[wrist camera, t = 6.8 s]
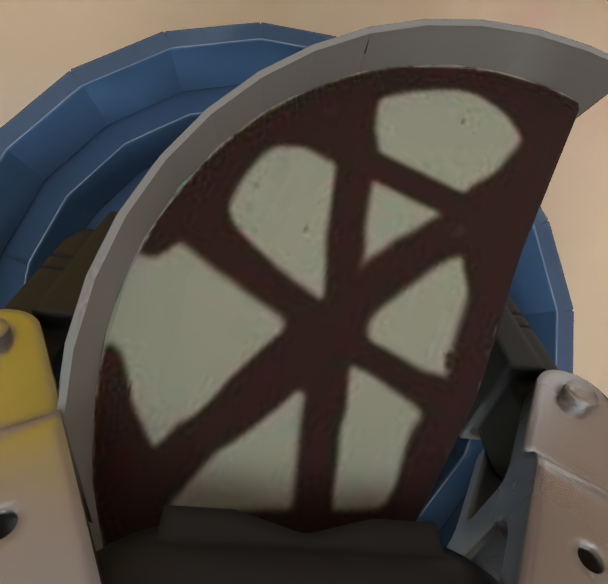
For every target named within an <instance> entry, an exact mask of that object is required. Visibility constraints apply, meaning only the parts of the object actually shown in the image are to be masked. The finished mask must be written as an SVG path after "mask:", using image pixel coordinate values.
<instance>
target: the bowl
mask: <svg viewBox="0 0 608 584" xmlns="http://www.w3.org/2000/svg"><path fill="white" fill-rule="evenodd" d="M332 38H336V36H331V35H325V34H320V33H315V32H310V31H304V30H299V29H294V28H289V27H283V26H278V25H273V24H268V23H261V24H260V23H258V22H257V23H247V24H236V25H226V26H216V27H206V28H196V29H185V30H175V31H166V32H165V33H164V32H160V33H158V34H156V35H153V36H151V37H148V38H146V39H143V40H141V41H139V42H136V43H134V44H131V45H129V46H126V47H124V48H122V49H119V50H117V51H114V52H112V53H109V54H107V55H105V56H102V57H100V58H97V59H95V60H92V61H90V62H88V63H85V64H83V65H80V66H78V67H75V68H73V69H71V72H70V71H69V72H67V73H66V74H65V75H64V76H63V77H61V78H60V79H59V80H58V81H57V82H55V83H54V84H53V85H52V86H51V87H49V88H48V89H47V90H46V91H45V92H43V93H42V94H41V95H40V96H38V97H37V98H36V99H35V100H34V101H32V102H31V103H30V104H29V105H28V106H26V107H25V108H24V109H23V110H22V111H20V112H19V113H18V114H17V115H16V116H14V117H13V118H12V119H11V120H10V121H8V122H7V123H6V124H5V125H4V126H2V127H1V128H0V309H3V308H4V307H5V306H6V305H7V304H8V303H9V302H10V300H11V299H12V298H13V297H14V296H15V295H16V294H17V293H18V291H19V290H20V289H21V288H22V287H23V286H24V285H25V284H26V282H27V281H28V280H29V279H30V278H31V277H32V276H33V274H34V273H35V272H36V271H37V270H38V269H39V268H42V264H43V263H44V262H45V261H46V260H47V259H48V257H49V256H52V253H53V252H54V251H55V250H56V248H57V247H58V246H59V245H60V244H61V243H62V242H63V241H64V239H66V238H68V237H70V236H72V235H74V234H76V233H78V232H80V231H82V230H83V229H89V230H95V229H96V228H97V227H98V225H99V224H100V223H101V222H102V220H103V219H104V218H105V217H106V215H107V214H108V213H109V212H110V211H116V212H119V211H120V209H121V208H122V207H123V205H124V204H125V203H126V201H127V200H128V198H129V197H130V196H131V194H132V193H133V192H134V190H135V189H136V187H137V186H138V185H139V183H140V182H141V181H142V179H143V178H144V176H145V175H146V174H147V172H148V171H149V169H150V168H151V167H152V165H153V164H154V163H155V162H156V161H157V159H158V158H159V156H160V155H161V154H162V153H163V152H164V151H165V150H166V149H167V148H168V147H169V146H170V145H171V144H172V143H173V142H174V141H175V140H176V139H177V138H178V137H179V136H180V135H181V134H182V133H183V132H184V131H185V130H186V129H187V128H188V127H189V126H190V125H191V124H192V123H193V122H194V121H195V120H196V119H197V118H198V117H199V116H200V115H201V114H202V113H203V112H204V111H205V110H206V109H207V108H208V107H210V106H211V105H213V104H214V103H215V102H217V101H218V100H220V99H221V98H222V97H224V96H225V95H227V94H228V93H229V92H231V91H232V90H234V89H235V88H236V87H238V86H239V85H240V84H242V83H243V82H245V81H246V80H247V79H249V78H250V77H252V76H253V75H254V74H256V73H257V72H259V71H261V70H263V69H265V68H267V67H269V66H271V65H273V64H275V63H277V62H279V61H281V60H283V59H285V58H287V57H289V56H291V55H293V54H295V53H297V52H299V51H301V50H303V49H305V48H307V47H309V46H311V45H313V44H316V43H319V42H323V41H326V40H329V39H332ZM547 220H548V219H547V217H546V215H545V214H544V212H543V210H542V209H541V207H540V208H539V210H538V213H537V215H536V218H535V220H534V223H533V225H532V228H531V230H530V233H529V235H528V238H527V240H526V243H525V245H524V248H523V251H522V254H521V257H520V260H519V263H518V266H517V269H516V272H515V275H514V278H513V282H512V285H511V288H510V291H509V294H508V296H510V297H511V298H512V299H513V301H514V302H515V304H516V305H517V307H518V308H519V310H520V311H521V313H522V314H521V316H524V318H525V319H526V321H527V322H528V324H529V325H530V327H529V328H530V329H532V330H533V331H534V333H535V334H536V336H537V337H538V339H539V340H540V342H541V343H542V345H543V346H544V348H545V349H546V351H547V352H548V354H549V355H550V357H551V359H552V360H553V362H554V363H555V365H556V366H557V368H558V369H559V370H561V371H565V372H569V373H572V374H573V322H574V312H573V311H572V310H573V306H572V302H571V299H570V295H569V291H568V288H567V284H566V281H565V277H564V273H563V270H562V266H561V263H560V259H559V255H558V252H557V248H556V245H555V241H554V237H553V234H552V230H551V227H550V223H549V221H547ZM483 449H484V446H483V443H482V441H481V440H475V439H464V438H460V437H459V436H458V438H457V440H456V442H455V444H454V446H453V449H452V451H451V453H450V455H449V457H448V459H447V461H446V463H445V465H444V467H443V469H442V471H441V473H440V475H439V477H438V479H437V481H436V483H435V485H434V487H433V489H432V491H431V493H430V495H429V497H428V499H427V501H426V503H425V505H424V507H423V509H422V511H421V513H420V515H419V517H418V519H417V522H432V523H436V524H437V528H438V532H439V536H440V540H441V544H442V546H445V547H447V545H448V544H449V542H450V540H451V538H452V536H453V534H454V532H455V529H456V527H457V524H458V521H459V517H460V514H461V511H462V507H463V504H464V501H465V497H466V494H467V490H468V487H469V484H470V480H471V477H472V474H473V470H474V467H475V463H476V460H477V458H478V455H479V454H480V453H481V451H482V450H483Z"/></svg>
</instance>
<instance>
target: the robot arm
mask: <svg viewBox="0 0 608 584" xmlns="http://www.w3.org/2000/svg"><path fill="white" fill-rule="evenodd" d="M117 214H118V212H116V211H110V212H109V213H108V214H107V215H106V217H105V218H104V219H103V220H102V222H101V223H100V224H99V225H98V227H97V228H96V229H95V230H89V229H83V230H82V231H80V232H78V233H76V234H74V235H72V236H70V237H68V238H66V239H64V241H63V242H62V243H61V244H60V245H59V246H58V247H57V248H56V250H55V251H54V252H53V253H52V256H49V257H48V259H47V260H46V261H45V262H44V263H43V264H42V268H39V269H38V270H37V271H36V272H35V273H34V274H33V276H32V277H31V278H30V279H29V280H28V281H27V282H26V284H25V285H24V286H23V287H22V288H21V289H20V290H19V291H18V293H17V294H16V295H15V296H14V297H13V298H12V299H11V300H10V302H9V303H8V304H7V305H6V306H5V307H4V308H3V309H0V584H608V398H607V397H606V396H605V395H604V394H603V393H602V392H601V391H600V390H599V389H597V388H596V387H595V386H593V385H592V384H591V383H589V382H588V381H586V380H584V379H582V378H581V377H579V376H576V375H574V374H572V373H569V372H565V371H561V370H559V369H558V368H557V366H556V365H555V363H554V362H553V360H552V359H551V357H550V355H549V354H548V352H547V351H546V349H545V348H544V346H543V345H542V343H541V342H540V340H539V339H538V337H537V336H536V334H535V333H534V331H533V330H532V329H530V328H529V327H530V325H529V324H528V322H527V321H526V319H525V318H524V316H521V314H522V313H521V311H520V310H519V308H518V307H517V305H516V304H515V302H514V301H513V299H512V298H511V297H510V296H508V297H507V301H506V304H505V307H504V311H503V314H502V318H501V321H500V325H499V328H498V332H497V335H496V339H495V342H494V346H493V349H492V352H491V355H490V358H489V361H488V364H487V367H486V370H485V373H484V376H483V379H482V382H481V385H480V388H479V391H478V394H477V397H476V399H475V402H474V404H473V406H472V409H471V411H470V413H469V415H468V416H467V418H466V421H465V423H464V425H463V427H462V429H461V431H460V434H459V437H460V438H464V439H475V440H481V441H482V443H483V446H484V449H483V450H482V451H481V453H480V454H479V455H478V458H477V460H476V463H475V467H474V470H473V474H472V477H471V480H470V484H469V487H468V490H467V494H466V497H465V501H464V504H463V507H462V511H461V514H460V517H459V521H458V524H457V527H456V529H455V532H454V534H453V536H452V538H451V540H450V542H449V544H448V545H447V547H445V546H442V544H441V540H440V536H439V532H438V528H437V524H436V523H432V522H417V521H402V520H387V519H369V520H365V521H360V522H356V523H352V524H347V525H343V526H339V527H335V528H330V529H326V530H322V531H317V532H313V533H301V532H298V531H295V530H292V529H289V528H286V527H283V526H280V525H278V524H275V523H272V522H269V521H266V520H263V519H261V518H258V517H255V516H252V515H249V514H246V513H243V512H241V511H238V510H235V509H220V508H205V507H190V506H174V505H164V509H163V513H162V517H161V521H160V525H159V526H156V527H152V528H147V529H144V530H141V531H138V532H135V533H132V534H130V535H127V536H125V537H123V538H121V539H119V540H116V541H114V542H112V543H110V544H108V545H107V546H105V547H103V548H102V549H100V550H98V551H97V552H96V550H95V546H94V542H93V538H92V534H91V530H90V526H89V522H91V523H93V522H92V519H91V515H90V512H89V508H88V504H87V501H86V497H85V493H84V490H83V486H82V483H81V479H80V476H79V472H78V469H77V465H76V462H75V458H74V455H73V451H72V448H71V444H70V441H69V437H68V434H67V430H66V427H65V423H64V420H63V416H62V413H61V410H60V409H59V410H57V405H58V398H59V395H58V387H59V380H60V373H61V367H62V360H63V353H64V346H65V341H66V338H67V335H68V331H69V328H70V325H71V322H72V319H73V315H74V312H75V309H76V306H77V303H78V299H79V296H80V293H81V290H82V287H83V283H84V280H85V277H86V275H87V273H88V271H89V269H90V267H91V265H92V263H93V261H94V259H95V257H96V255H97V253H98V251H99V249H100V247H101V245H102V243H103V241H104V239H105V237H106V235H107V233H108V231H109V229H110V227H111V225H112V223H113V221H114V219H115V217H116V215H117Z"/></svg>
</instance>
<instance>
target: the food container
mask: <svg viewBox="0 0 608 584" xmlns="http://www.w3.org/2000/svg"><path fill="white" fill-rule="evenodd" d="M607 94H608V54H607V53H605V52H603V51H601V50H598V49H596V48H594V47H592V46H590V45H587V44H584V43H581V42H577V41H574V40H571V39H568V38H565V37H562V36H559V35H556V34H552V33H549V32H546V31H543V30H540V29H536V28H530V27H524V26H518V25H512V24H506V23H500V22H493V21H487V20H465V19H423V20H416V21H408V22H401V23H394V24H387V25H380V26H373V27H368V28H365V29H362V30H358V31H355V32H352V33H349V34H345V35H342V36H339V37H336V38H332V39H329V40H326V41H323V42H319V43H316V44H313V45H311V46H309V47H307V48H305V49H303V50H301V51H299V52H297V53H295V54H293V55H291V56H289V57H287V58H285V59H283V60H281V61H279V62H277V63H275V64H273V65H271V66H269V67H267V68H265V69H263V70H261V71H259V72H257V73H256V74H254V75H253V76H252V77H250V78H249V79H247V80H246V81H245V82H243V83H242V84H240V85H239V86H238V87H236V88H235V89H234V90H232V91H231V92H229V93H228V94H227V95H225V96H224V97H222V98H221V99H220V100H218V101H217V102H215V103H214V104H213V105H211V106H210V107H208V108H207V109H206V110H205V111H204V112H203V113H202V114H201V115H200V116H199V117H198V118H197V119H196V120H195V121H194V122H193V123H192V124H191V125H190V126H189V127H188V128H187V129H186V130H185V131H184V132H183V133H182V134H181V135H180V136H179V137H178V138H177V139H176V140H175V141H174V142H173V143H172V144H171V145H170V146H169V147H168V148H167V149H166V150H165V151H164V152H163V153H162V154H161V155H160V156H159V158H158V159H157V161H156V162H155V163H154V164H153V165H152V167H151V168H150V169H149V171H148V172H147V174H146V175H145V176H144V178H143V179H142V181H141V182H140V183H139V185H138V186H137V187H136V189H135V190H134V192H133V193H132V194H131V196H130V197H129V198H128V200H127V201H126V203H125V204H124V205H123V207H122V208H121V209H120V211H119V212H118V214H117V215H116V217H115V219H114V221H113V223H112V225H111V227H110V229H109V231H108V233H107V235H106V237H105V239H104V241H103V243H102V245H101V247H100V249H99V251H98V253H97V255H96V257H95V259H94V261H93V263H92V265H91V267H90V269H89V271H88V273H87V275H86V277H85V280H84V283H83V287H82V290H81V293H80V296H79V299H78V303H77V306H76V309H75V312H74V315H73V319H72V322H71V325H70V328H69V331H68V335H67V338H66V341H65V346H64V353H63V360H62V367H61V373H60V380H59V387H58V395H59V398H58V405H57V410H59V409H60V410H61V413H62V416H63V420H64V423H65V427H66V430H67V434H68V437H69V441H70V444H71V448H72V451H73V455H74V458H75V462H76V465H77V469H78V472H79V476H80V479H81V483H82V486H83V490H84V493H85V497H86V501H87V504H88V508H89V512H90V515H91V519H92V522H93V523H91V522H89V526H90V530H91V534H92V538H93V542H94V546H95V550H96V552H97V551H98V550H100V549H102V548H103V547H105V546H107V545H108V544H110V543H112V542H114V541H116V540H119V539H121V538H123V537H125V536H127V535H130V534H132V533H135V532H138V531H141V530H144V529H147V528H152V527H156V526H159V525H160V521H161V517H162V513H163V509H164V505H174V506H190V507H205V508H220V509H235V510H238V511H241V512H243V513H246V514H249V515H252V516H255V517H258V518H261V519H263V520H266V521H269V522H272V523H275V524H278V525H280V526H283V527H286V528H289V529H292V530H295V531H298V532H301V533H313V532H317V531H322V530H326V529H330V528H335V527H339V526H343V525H347V524H352V523H356V522H360V521H365V520H369V519H387V520H402V521H417V519H418V517H419V515H420V513H421V511H422V509H423V507H424V505H425V503H426V501H427V499H428V497H429V495H430V493H431V491H432V489H433V487H434V485H435V483H436V481H437V479H438V477H439V475H440V473H441V471H442V469H443V467H444V465H445V463H446V461H447V459H448V457H449V455H450V453H451V451H452V449H453V446H454V444H455V442H456V440H457V438H458V436H459V434H460V431H461V429H462V427H463V425H464V423H465V421H466V418H467V416H468V415H469V413H470V411H471V409H472V406H473V404H474V402H475V399H476V397H477V394H478V391H479V388H480V385H481V382H482V379H483V376H484V373H485V370H486V367H487V364H488V361H489V358H490V355H491V352H492V349H493V346H494V342H495V339H496V335H497V332H498V328H499V325H500V321H501V318H502V314H503V311H504V307H505V304H506V301H507V297H508V294H509V291H510V288H511V285H512V282H513V278H514V275H515V272H516V269H517V266H518V263H519V260H520V257H521V254H522V251H523V248H524V245H525V243H526V240H527V238H528V235H529V233H530V230H531V228H532V225H533V223H534V220H535V218H536V215H537V213H538V210H539V208H540V205H541V203H542V200H543V198H544V195H545V193H546V190H547V188H548V185H549V183H550V180H551V178H552V175H553V173H554V170H555V168H556V165H557V163H558V160H559V158H560V155H561V153H562V151H563V148H564V146H565V143H566V141H567V138H568V136H569V133H570V131H571V128H572V126H573V123H574V121H575V119H576V118H577V117H578V116H580V115H581V114H582V113H584V112H585V111H586V110H587V109H589V108H590V107H591V106H593V105H594V104H595V103H596V102H598V101H599V100H600V99H602V98H603V97H604V96H605V95H607Z"/></svg>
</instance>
